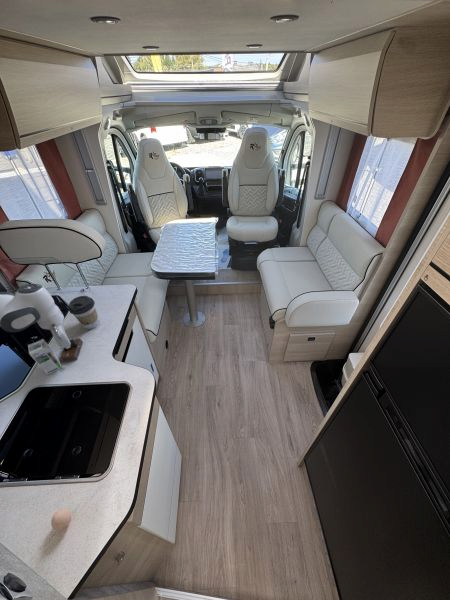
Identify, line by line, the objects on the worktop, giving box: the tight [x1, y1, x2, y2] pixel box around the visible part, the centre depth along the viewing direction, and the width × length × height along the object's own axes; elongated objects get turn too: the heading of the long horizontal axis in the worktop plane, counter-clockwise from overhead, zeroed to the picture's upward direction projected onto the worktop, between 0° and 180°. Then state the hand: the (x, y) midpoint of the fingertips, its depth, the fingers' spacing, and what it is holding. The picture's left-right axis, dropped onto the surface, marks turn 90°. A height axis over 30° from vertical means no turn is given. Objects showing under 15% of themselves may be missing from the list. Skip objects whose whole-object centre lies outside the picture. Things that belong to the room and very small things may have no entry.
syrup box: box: [27, 338, 63, 376], centre depth 104 cm, size 6×6×14 cm
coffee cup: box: [67, 295, 100, 330], centre depth 122 cm, size 11×11×15 cm
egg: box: [50, 508, 72, 531], centre depth 69 cm, size 4×4×6 cm
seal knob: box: [62, 338, 77, 351], centre depth 111 cm, size 5×2×4 cm, turn 129°
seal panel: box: [59, 337, 84, 363], centre depth 114 cm, size 10×9×3 cm
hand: (65, 340), depth 110 cm, fingers open, 8 cm apart
